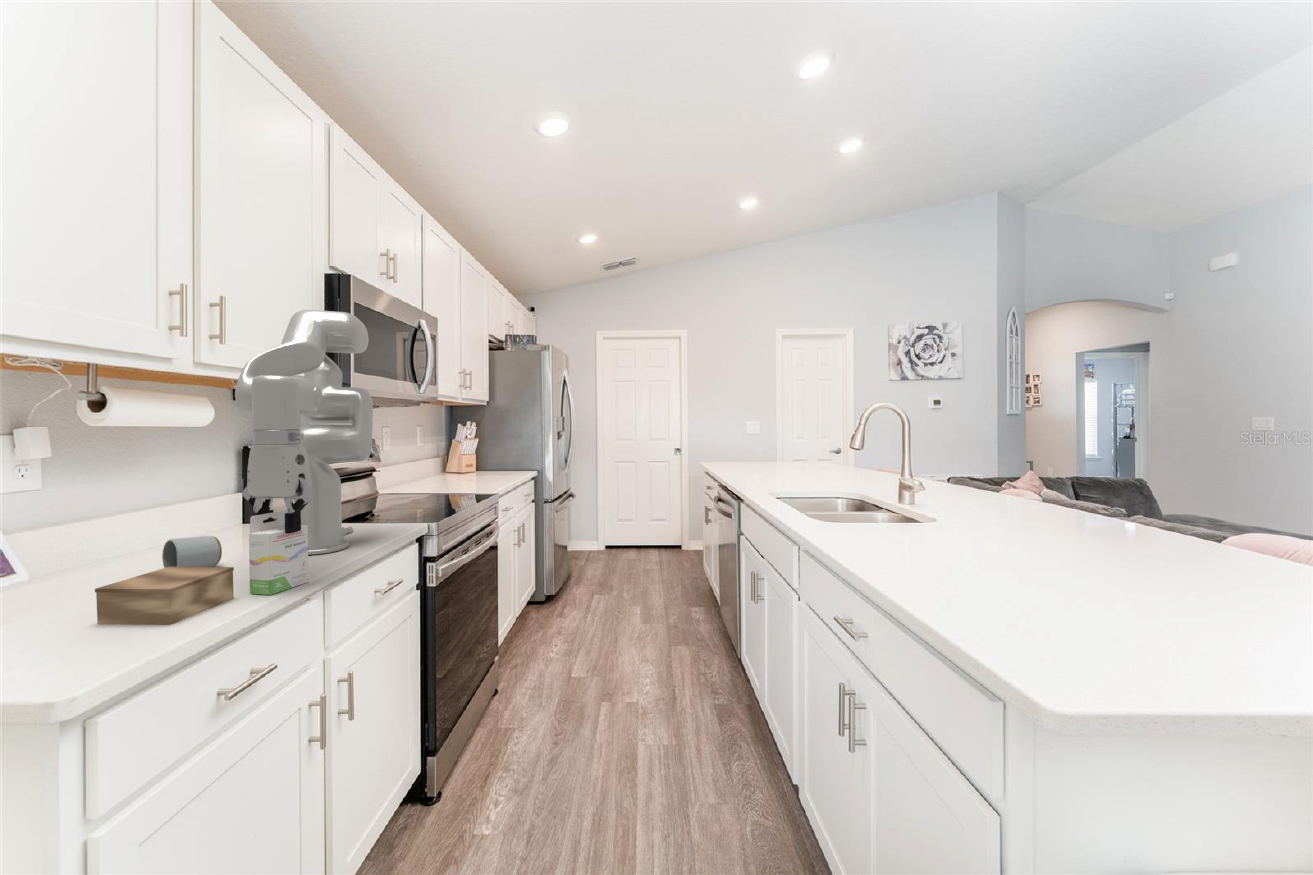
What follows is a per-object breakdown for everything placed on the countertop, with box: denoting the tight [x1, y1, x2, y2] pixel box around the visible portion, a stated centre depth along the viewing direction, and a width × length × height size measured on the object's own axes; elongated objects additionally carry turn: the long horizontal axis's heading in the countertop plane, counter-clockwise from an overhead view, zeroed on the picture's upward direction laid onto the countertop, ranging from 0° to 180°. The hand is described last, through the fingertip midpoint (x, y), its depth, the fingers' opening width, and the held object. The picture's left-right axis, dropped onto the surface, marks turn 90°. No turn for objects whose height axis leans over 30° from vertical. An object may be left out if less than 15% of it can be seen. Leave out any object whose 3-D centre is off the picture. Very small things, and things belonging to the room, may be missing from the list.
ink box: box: [248, 509, 309, 596], centre depth 100 cm, size 9×5×15 cm, turn 168°
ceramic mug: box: [161, 535, 223, 568], centre depth 112 cm, size 11×8×8 cm
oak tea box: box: [94, 566, 235, 626], centre depth 88 cm, size 12×12×6 cm
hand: (279, 530), depth 99 cm, fingers closed on ink box, 5 cm apart
